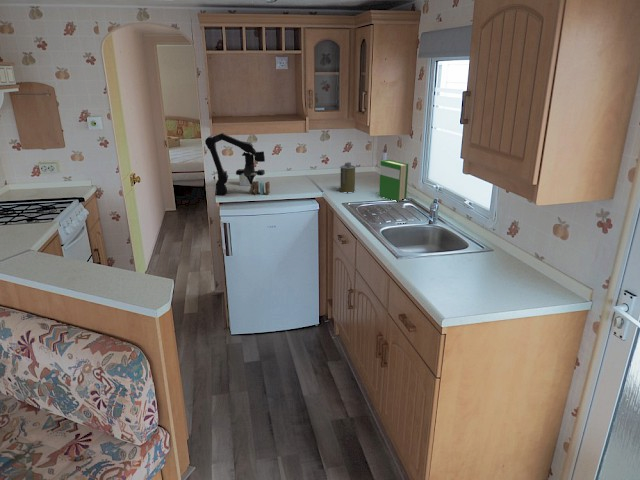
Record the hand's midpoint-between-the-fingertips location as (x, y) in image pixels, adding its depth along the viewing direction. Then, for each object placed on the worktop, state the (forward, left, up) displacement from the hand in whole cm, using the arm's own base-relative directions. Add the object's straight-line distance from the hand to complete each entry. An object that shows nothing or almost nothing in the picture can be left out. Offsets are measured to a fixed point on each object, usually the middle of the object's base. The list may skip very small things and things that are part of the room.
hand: (251, 184), depth 316 cm
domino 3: (+11, 0, -6) cm, 13 cm away
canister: (+65, +14, -6) cm, 67 cm away
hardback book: (+96, +1, -6) cm, 97 cm away
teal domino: (+7, 0, -6) cm, 10 cm away
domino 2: (+3, 0, -6) cm, 7 cm away
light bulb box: (-10, +23, -6) cm, 26 cm away
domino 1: (0, 0, -6) cm, 6 cm away
